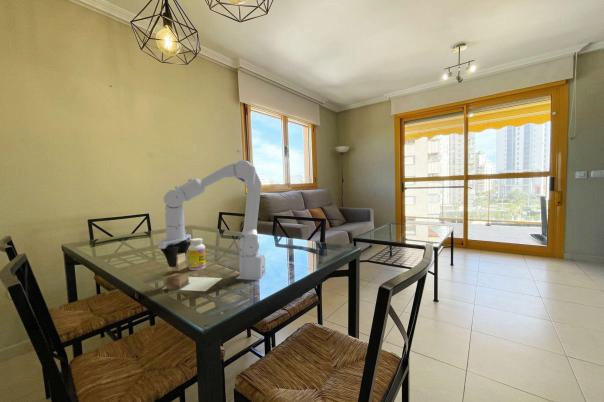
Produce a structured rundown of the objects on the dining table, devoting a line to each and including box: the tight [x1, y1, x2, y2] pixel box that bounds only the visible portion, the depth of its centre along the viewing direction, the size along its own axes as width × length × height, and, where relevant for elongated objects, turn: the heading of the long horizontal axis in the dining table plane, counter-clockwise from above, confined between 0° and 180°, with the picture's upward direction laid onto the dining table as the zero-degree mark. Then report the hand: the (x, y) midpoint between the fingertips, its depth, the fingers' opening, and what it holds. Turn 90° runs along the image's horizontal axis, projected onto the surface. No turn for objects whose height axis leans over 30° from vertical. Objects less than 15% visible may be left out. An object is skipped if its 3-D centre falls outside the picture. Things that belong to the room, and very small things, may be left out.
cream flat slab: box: [161, 276, 223, 292], centre depth 89 cm, size 16×12×1 cm
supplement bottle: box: [187, 237, 207, 271], centre depth 107 cm, size 7×7×13 cm
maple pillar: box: [166, 253, 187, 272], centre depth 86 cm, size 4×4×5 cm
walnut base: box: [165, 272, 190, 290], centre depth 86 cm, size 5×5×4 cm
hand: (176, 264), depth 86 cm, fingers closed on maple pillar, 4 cm apart
